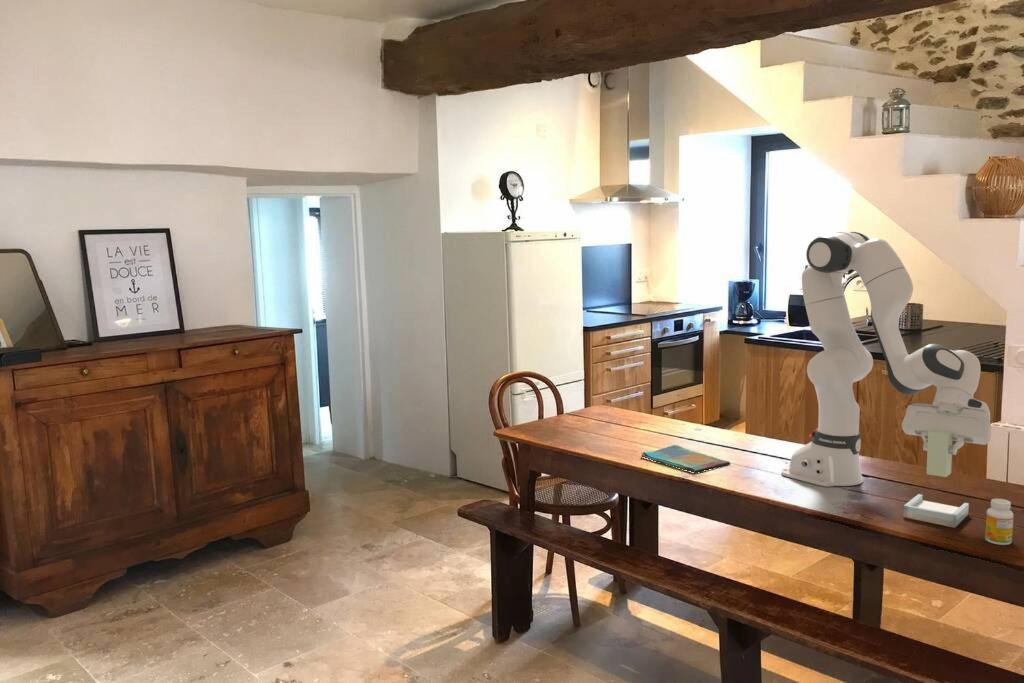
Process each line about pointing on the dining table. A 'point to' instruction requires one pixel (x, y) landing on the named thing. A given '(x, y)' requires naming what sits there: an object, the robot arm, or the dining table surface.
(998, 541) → the supplement bottle
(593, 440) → the dining table surface
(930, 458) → the green block
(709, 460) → the dish towel
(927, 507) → the holder
